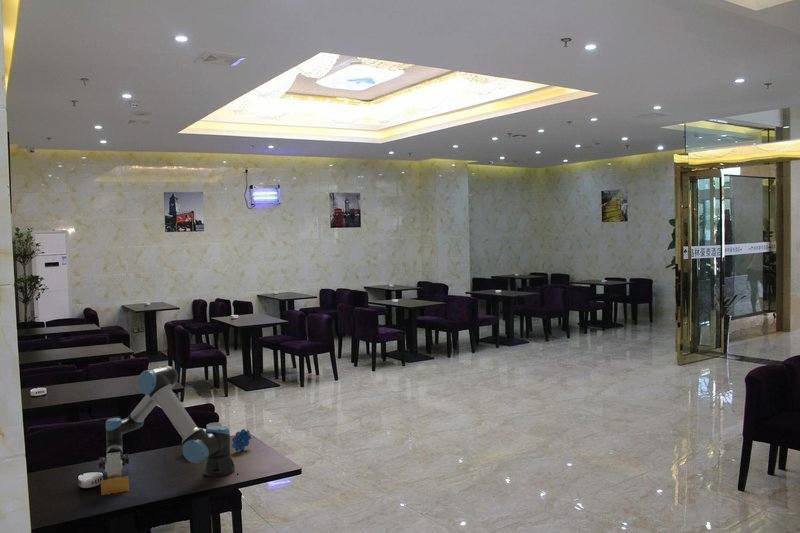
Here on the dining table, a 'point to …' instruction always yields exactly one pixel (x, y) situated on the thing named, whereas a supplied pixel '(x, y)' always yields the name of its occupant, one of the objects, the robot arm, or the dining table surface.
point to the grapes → (241, 440)
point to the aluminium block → (113, 465)
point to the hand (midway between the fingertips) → (113, 467)
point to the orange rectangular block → (114, 485)
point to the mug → (214, 424)
